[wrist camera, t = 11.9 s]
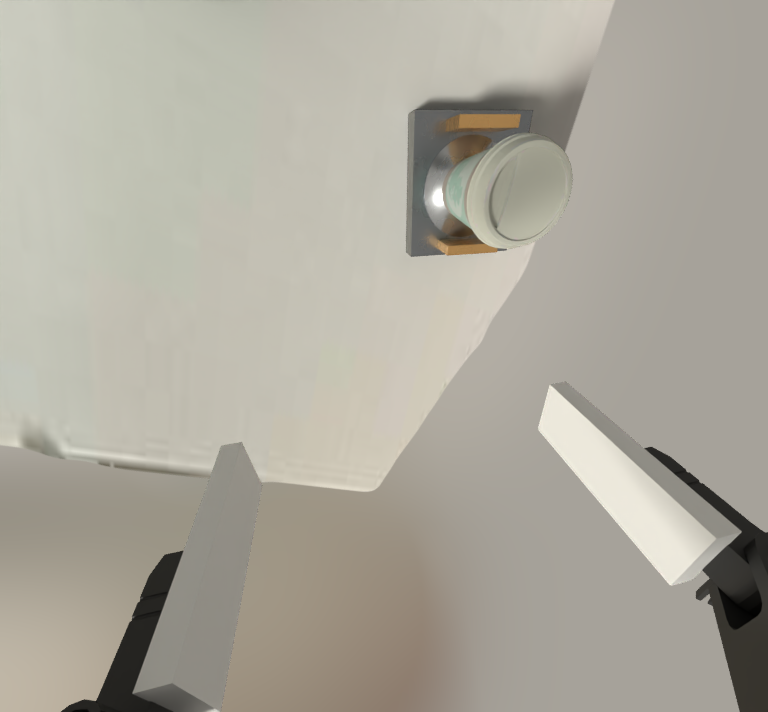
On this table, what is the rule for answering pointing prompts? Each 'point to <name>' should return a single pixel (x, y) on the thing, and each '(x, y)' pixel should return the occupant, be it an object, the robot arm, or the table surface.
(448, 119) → the block
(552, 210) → the coffee cup
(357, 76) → the table surface
